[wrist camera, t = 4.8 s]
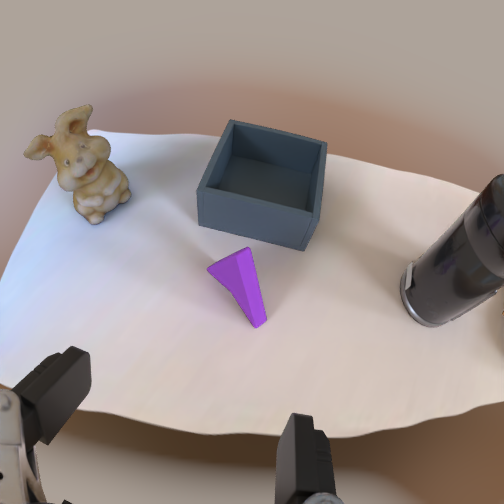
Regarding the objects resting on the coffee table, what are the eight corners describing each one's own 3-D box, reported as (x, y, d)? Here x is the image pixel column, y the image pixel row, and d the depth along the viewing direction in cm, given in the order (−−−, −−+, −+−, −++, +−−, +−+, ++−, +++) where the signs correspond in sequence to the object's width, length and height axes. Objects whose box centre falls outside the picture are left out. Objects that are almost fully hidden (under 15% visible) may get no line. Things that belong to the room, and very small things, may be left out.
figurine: (105, 245, 37) (65, 160, 24) (59, 225, 38) (14, 145, 25) (143, 189, 42) (124, 99, 29) (97, 174, 42) (70, 92, 29)
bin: (315, 175, 46) (327, 142, 40) (304, 251, 39) (319, 220, 34) (227, 154, 47) (229, 119, 41) (198, 225, 40) (196, 190, 34)
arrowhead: (238, 304, 40) (287, 331, 31) (228, 311, 39) (275, 341, 31) (204, 234, 36) (249, 246, 28) (192, 242, 35) (234, 256, 27)
